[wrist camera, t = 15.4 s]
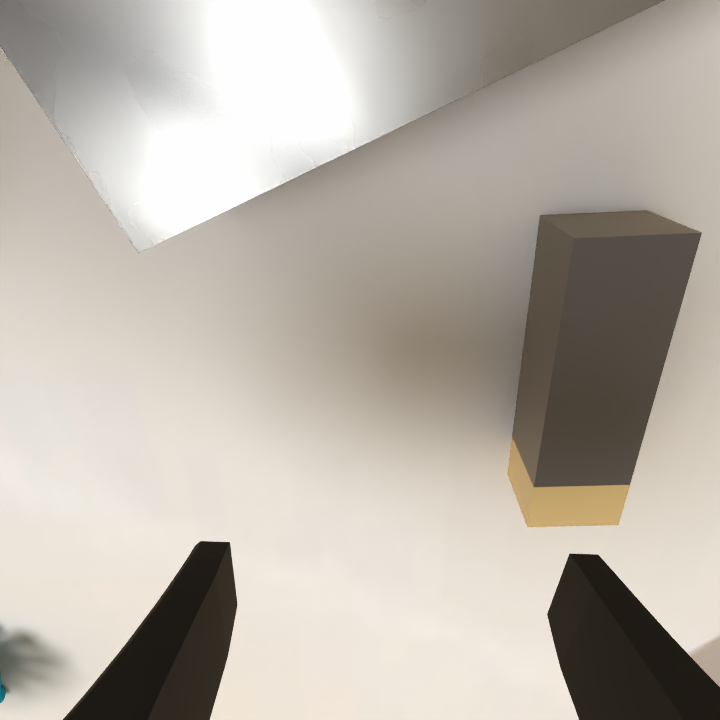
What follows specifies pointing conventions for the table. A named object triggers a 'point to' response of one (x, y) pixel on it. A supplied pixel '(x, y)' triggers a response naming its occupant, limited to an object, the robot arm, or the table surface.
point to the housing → (259, 84)
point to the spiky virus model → (2, 692)
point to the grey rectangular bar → (593, 359)
